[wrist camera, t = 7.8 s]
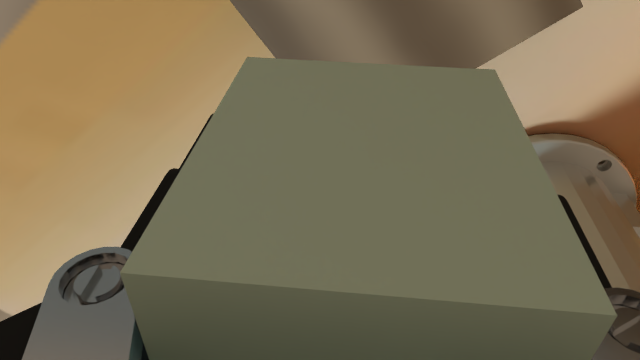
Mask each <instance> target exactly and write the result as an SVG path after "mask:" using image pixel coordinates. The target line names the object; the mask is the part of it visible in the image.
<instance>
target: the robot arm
mask: <svg viewBox="0 0 640 360" xmlns="http://www.w3.org/2000/svg"><path fill="white" fill-rule="evenodd" d="M212 116H213V114H212V115H211V116H210V118H209V119H208V121H207V123H206V124H205V126H204V128H203V129H202V131H201V133H200V134H199V136H198V138H197V139H196V141H195V143H194V144H193V146H192V148H191V149H190V151H189V153H188V154H187V156H186V158H185V159H184V161H183V163H182V165H181V166H180V168H179V169H171V170H169V172H168V173H167V174H166V175H165V177H164V179H163V180H162V182H161V183H160V185H159V187H158V188H157V190H156V191H155V193H154V195H153V196H152V198H151V199H150V201H149V203H148V204H147V206H146V207H145V209H144V211H143V212H142V214H141V215H140V217H139V219H138V220H137V222H136V223H135V225H134V227H133V228H132V230H131V231H130V233H129V235H128V236H127V238H126V239H125V241H124V243H123V244H122V246H121V247H102V248H97V249H92V250H89V251H86V252H84V253H81V254H79V255H77V256H75V257H74V258H72V259H70V260H69V261H67V262H66V263H64V264H63V265H62V266H61V267H60V268H59V269H58V270H57V271H56V272H55V274H54V275H53V277H52V279H51V281H50V283H49V285H48V288H47V290H46V293H45V296H44V299H43V302H42V303H40V304H38V305H35V306H33V307H31V308H29V309H27V310H25V311H23V312H20V313H18V314H16V315H14V316H12V317H10V318H7V319H5V320H3V321H1V322H0V360H149V358H148V355H147V352H146V349H145V346H144V343H143V340H142V337H141V334H140V331H139V328H138V325H137V322H136V319H135V316H134V313H133V310H132V307H131V304H130V301H129V298H128V295H127V292H126V289H125V287H124V284H123V281H122V278H121V275H120V272H121V270H122V268H123V267H124V265H125V263H126V262H127V260H128V258H129V256H130V255H131V253H132V251H133V250H134V248H135V246H136V245H137V243H138V241H139V240H140V238H141V236H142V234H143V233H144V231H145V229H146V228H147V226H148V224H149V223H150V221H151V219H152V218H153V216H154V214H155V212H156V211H157V209H158V207H159V206H160V204H161V202H162V201H163V199H164V197H165V196H166V194H167V192H168V190H169V189H170V187H171V185H172V184H173V182H174V180H175V179H176V177H177V175H178V174H179V172H180V170H181V168H182V167H183V165H184V163H185V162H186V160H187V158H188V157H189V155H190V153H191V152H192V150H193V148H194V146H195V145H196V143H197V141H198V140H199V138H200V136H201V135H202V133H203V131H204V130H205V128H206V126H207V124H208V123H209V121H210V119H211V118H212ZM528 137H529V139H530V141H531V143H532V145H533V147H534V149H535V151H536V153H537V155H538V157H539V159H540V161H541V163H542V165H543V167H544V169H545V171H546V173H547V175H548V177H549V179H550V181H551V183H552V185H553V187H554V189H555V191H556V193H557V195H558V197H559V199H560V201H561V203H562V205H563V207H564V210H565V212H566V214H567V216H568V218H569V220H570V222H571V224H572V226H573V228H574V230H575V232H576V234H577V236H578V238H579V240H580V242H581V244H582V246H583V248H584V250H585V252H586V254H587V256H588V258H589V260H590V262H591V264H592V266H593V268H594V270H595V272H596V274H597V276H598V278H599V280H600V282H601V284H602V286H603V288H604V290H605V292H606V294H607V296H608V298H609V300H610V302H611V304H612V306H613V308H614V310H615V312H616V314H617V317H616V319H615V320H614V322H613V324H612V326H611V327H610V329H609V331H608V332H607V334H606V336H605V337H604V339H603V341H602V342H601V344H600V346H599V347H598V349H597V351H596V352H595V354H594V356H593V357H592V359H591V360H640V213H639V212H638V210H637V209H636V203H637V192H636V187H635V182H634V180H633V178H632V176H631V175H630V173H629V171H628V169H627V168H626V167H625V165H624V164H623V163H622V161H621V160H620V159H619V158H618V157H617V156H616V155H615V154H614V153H612V152H611V151H610V150H609V149H608V148H606V147H604V146H602V145H600V144H598V143H596V142H594V141H592V140H590V139H586V138H582V137H579V136H575V135H566V134H555V133H553V134H539V135H531V136H528Z"/></svg>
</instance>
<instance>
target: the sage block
mask: <svg viewBox="0 0 640 360" xmlns="http://www.w3.org/2000/svg"><path fill="white" fill-rule="evenodd" d="M120 275H121V278H122V281H123V284H124V287H125V289H126V292H127V295H128V298H129V301H130V304H131V307H132V310H133V313H134V316H135V319H136V322H137V325H138V328H139V331H140V334H141V337H142V340H143V343H144V346H145V349H146V352H147V355H148V358H149V360H591V359H592V357H593V356H594V354H595V352H596V351H597V349H598V347H599V346H600V344H601V342H602V341H603V339H604V337H605V336H606V334H607V332H608V331H609V329H610V327H611V326H612V324H613V322H614V320H615V319H616V317H617V314H616V312H615V310H614V308H613V306H612V304H611V302H610V300H609V298H608V296H607V294H606V292H605V290H604V288H603V286H602V284H601V282H600V280H599V278H598V276H597V274H596V272H595V270H594V268H593V266H592V264H591V262H590V260H589V258H588V256H587V254H586V252H585V250H584V248H583V246H582V244H581V242H580V240H579V238H578V236H577V234H576V232H575V230H574V228H573V226H572V224H571V222H570V220H569V218H568V216H567V214H566V212H565V210H564V207H563V205H562V203H561V201H560V199H559V197H558V195H557V193H556V191H555V189H554V187H553V185H552V183H551V181H550V179H549V177H548V175H547V173H546V171H545V169H544V167H543V165H542V163H541V161H540V159H539V157H538V155H537V153H536V151H535V149H534V147H533V145H532V143H531V141H530V139H529V137H528V135H527V133H526V131H525V129H524V127H523V125H522V123H521V121H520V119H519V117H518V115H517V113H516V111H515V109H514V107H513V105H512V103H511V101H510V99H509V97H508V95H507V93H506V91H505V89H504V87H503V85H502V83H501V81H500V79H499V77H498V75H497V73H496V71H495V70H489V69H470V68H450V67H431V66H411V65H392V64H372V63H353V62H333V61H314V60H294V59H274V58H255V57H247V58H246V60H245V62H244V64H243V65H242V67H241V69H240V70H239V72H238V74H237V75H236V77H235V79H234V80H233V82H232V84H231V86H230V87H229V89H228V91H227V92H226V94H225V96H224V97H223V99H222V101H221V102H220V104H219V106H218V108H217V109H216V111H215V113H214V114H213V116H212V118H211V119H210V121H209V123H208V124H207V126H206V128H205V130H204V131H203V133H202V135H201V136H200V138H199V140H198V141H197V143H196V145H195V146H194V148H193V150H192V152H191V153H190V155H189V157H188V158H187V160H186V162H185V163H184V165H183V167H182V168H181V170H180V172H179V174H178V175H177V177H176V179H175V180H174V182H173V184H172V185H171V187H170V189H169V190H168V192H167V194H166V196H165V197H164V199H163V201H162V202H161V204H160V206H159V207H158V209H157V211H156V212H155V214H154V216H153V218H152V219H151V221H150V223H149V224H148V226H147V228H146V229H145V231H144V233H143V234H142V236H141V238H140V240H139V241H138V243H137V245H136V246H135V248H134V250H133V251H132V253H131V255H130V256H129V258H128V260H127V262H126V263H125V265H124V267H123V268H122V270H121V272H120Z"/></svg>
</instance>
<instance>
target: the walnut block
mask: <svg viewBox="0 0 640 360" xmlns="http://www.w3.org/2000/svg"><path fill="white" fill-rule="evenodd" d="M230 1H231V3H232V4H233V5H234V6H235V8H236V9H237V10H238V11H239V13H240V14H241V15H242V16H243V18H244V19H245V20H246V21H247V23H248V24H249V25H250V26H251V28H252V29H253V30H254V31H255V33H256V34H257V35H258V36H259V38H260V39H261V40H262V41H263V43H264V44H265V45H266V46H267V48H268V49H269V50H270V51H271V53H272V54H273V55H274V56H275V58H276V59H294V60H314V61H333V62H353V63H372V64H392V65H411V66H431V67H450V68H470V69H475V68H477V67H479V66H481V65H482V64H484V63H486V62H488V61H489V60H491V59H493V58H495V57H496V56H498V55H500V54H502V53H503V52H505V51H507V50H509V49H510V48H512V47H514V46H516V45H517V44H519V43H521V42H523V41H524V40H526V39H528V38H530V37H531V36H533V35H535V34H536V33H538V32H540V31H542V30H543V29H545V28H547V27H549V26H550V25H552V24H554V23H556V22H557V21H559V20H561V19H563V18H564V17H566V16H568V15H570V14H571V13H573V12H575V11H577V10H578V9H580V8H582V7H583V5H582V3H581V1H580V0H230Z"/></svg>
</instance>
